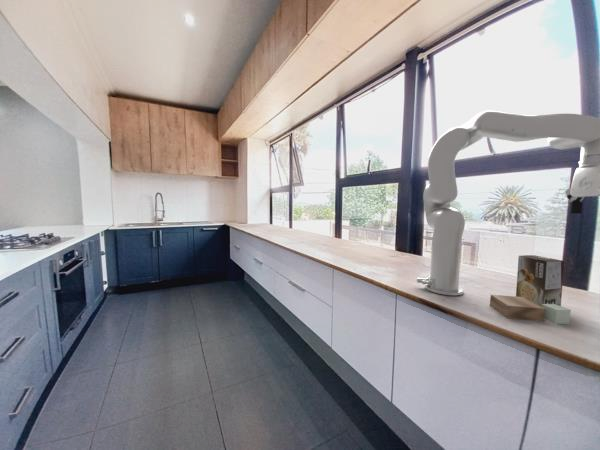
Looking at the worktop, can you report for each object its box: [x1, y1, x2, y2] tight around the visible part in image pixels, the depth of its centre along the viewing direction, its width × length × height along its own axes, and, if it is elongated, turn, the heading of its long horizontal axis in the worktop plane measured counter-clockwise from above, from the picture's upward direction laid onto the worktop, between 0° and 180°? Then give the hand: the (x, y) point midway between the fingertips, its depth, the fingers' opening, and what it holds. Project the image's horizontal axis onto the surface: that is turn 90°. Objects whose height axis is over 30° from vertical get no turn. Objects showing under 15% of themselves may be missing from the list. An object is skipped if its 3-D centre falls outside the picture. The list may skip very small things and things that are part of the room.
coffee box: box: [515, 254, 565, 307], centre depth 77 cm, size 9×6×16 cm
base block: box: [489, 294, 545, 322], centre depth 73 cm, size 9×9×4 cm
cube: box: [542, 304, 572, 325], centre depth 69 cm, size 4×4×4 cm
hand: (591, 213), depth 81 cm, fingers open, 9 cm apart
